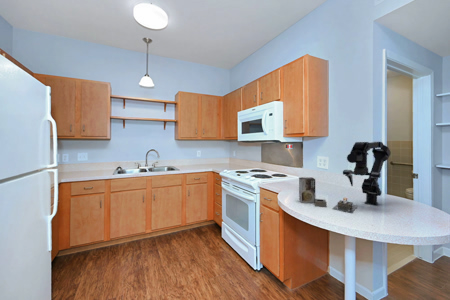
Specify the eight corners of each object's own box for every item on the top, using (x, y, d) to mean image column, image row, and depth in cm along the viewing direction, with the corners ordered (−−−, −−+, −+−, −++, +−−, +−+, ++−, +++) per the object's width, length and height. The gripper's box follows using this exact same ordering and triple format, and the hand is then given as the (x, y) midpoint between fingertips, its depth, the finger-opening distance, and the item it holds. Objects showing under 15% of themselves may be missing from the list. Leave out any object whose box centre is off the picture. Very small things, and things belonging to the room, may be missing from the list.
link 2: (340, 205, 120) (340, 200, 120) (352, 207, 116) (352, 202, 116) (337, 207, 116) (337, 202, 116) (350, 209, 111) (350, 204, 111)
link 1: (314, 203, 126) (314, 198, 126) (324, 204, 124) (324, 199, 124) (315, 206, 120) (315, 201, 120) (326, 207, 118) (326, 202, 118)
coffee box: (312, 200, 133) (312, 177, 132) (315, 203, 126) (315, 178, 126) (298, 200, 134) (298, 177, 133) (301, 202, 127) (301, 178, 127)
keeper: (338, 204, 125) (339, 194, 124) (357, 207, 118) (357, 197, 117) (332, 209, 114) (332, 199, 114) (352, 213, 108) (352, 202, 107)
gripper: (340, 162, 120) (340, 187, 120) (378, 164, 107) (378, 192, 107) (345, 161, 128) (344, 184, 128) (381, 162, 115) (380, 188, 115)
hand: (360, 187), depth 119 cm, fingers open, 9 cm apart
